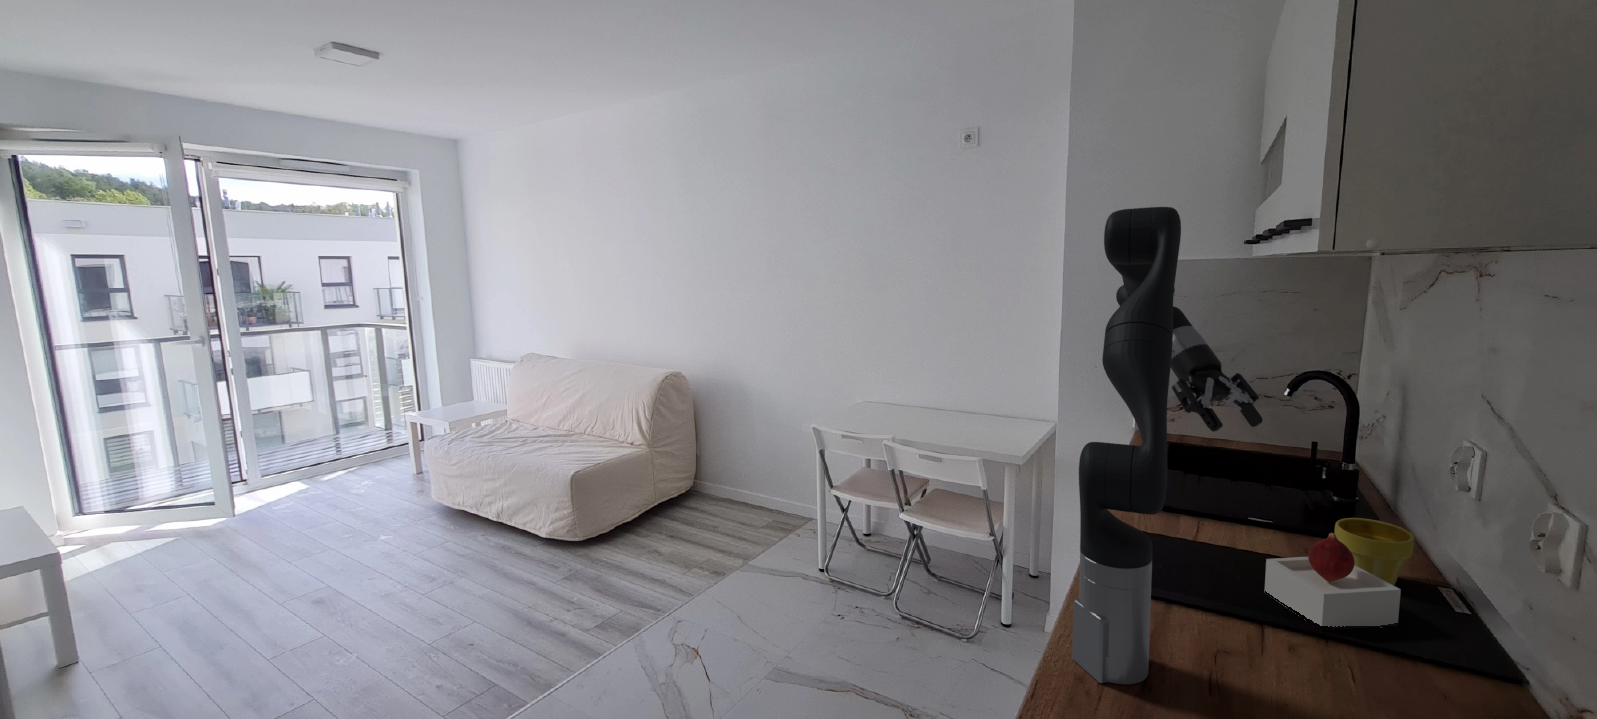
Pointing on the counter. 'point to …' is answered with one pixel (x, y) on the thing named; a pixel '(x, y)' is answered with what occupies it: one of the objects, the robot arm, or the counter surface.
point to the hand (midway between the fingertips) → (1238, 426)
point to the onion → (1331, 558)
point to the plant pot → (1376, 546)
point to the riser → (1332, 594)
